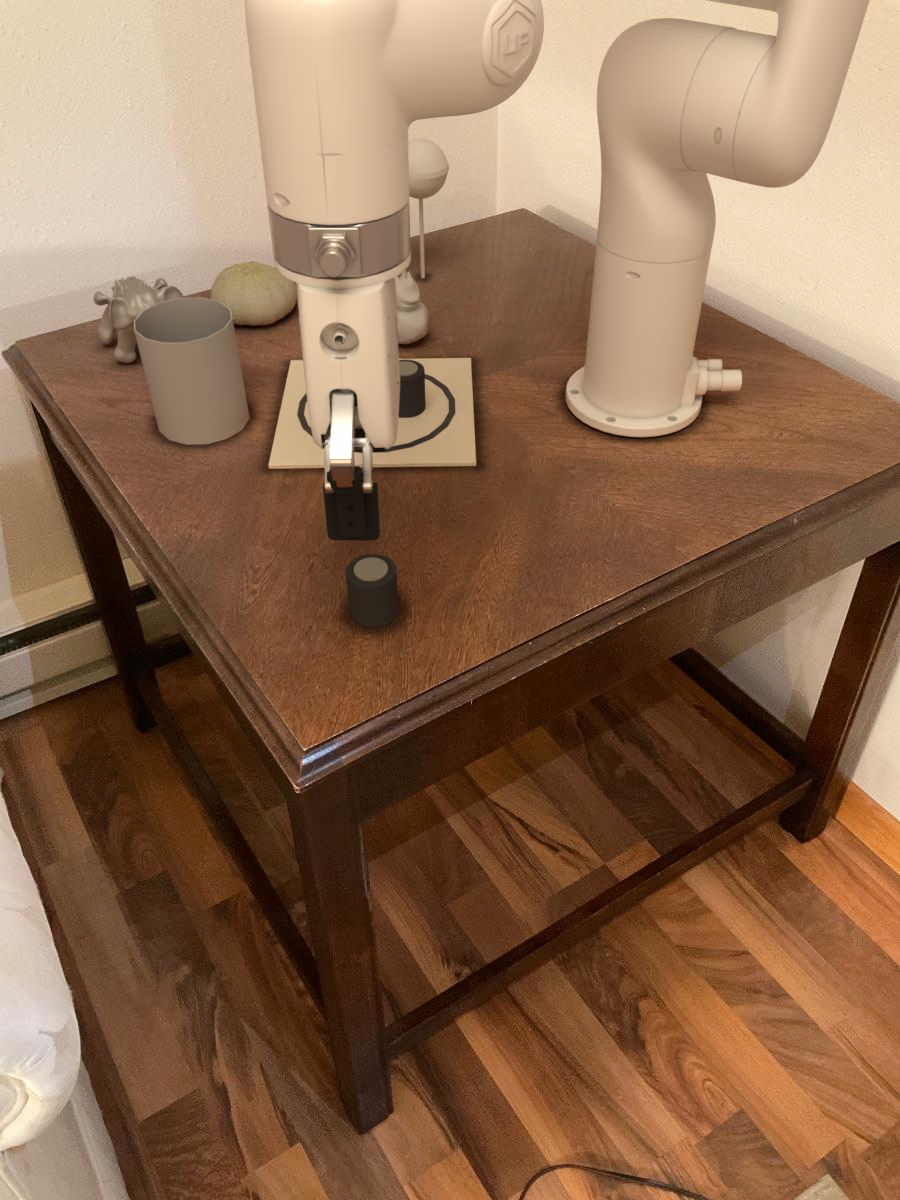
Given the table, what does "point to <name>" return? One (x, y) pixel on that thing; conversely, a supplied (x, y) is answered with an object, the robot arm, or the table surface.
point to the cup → (192, 369)
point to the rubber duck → (410, 310)
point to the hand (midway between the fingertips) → (359, 491)
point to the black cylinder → (411, 389)
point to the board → (420, 439)
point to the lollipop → (425, 178)
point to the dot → (372, 590)
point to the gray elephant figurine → (129, 311)
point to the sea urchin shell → (254, 293)
